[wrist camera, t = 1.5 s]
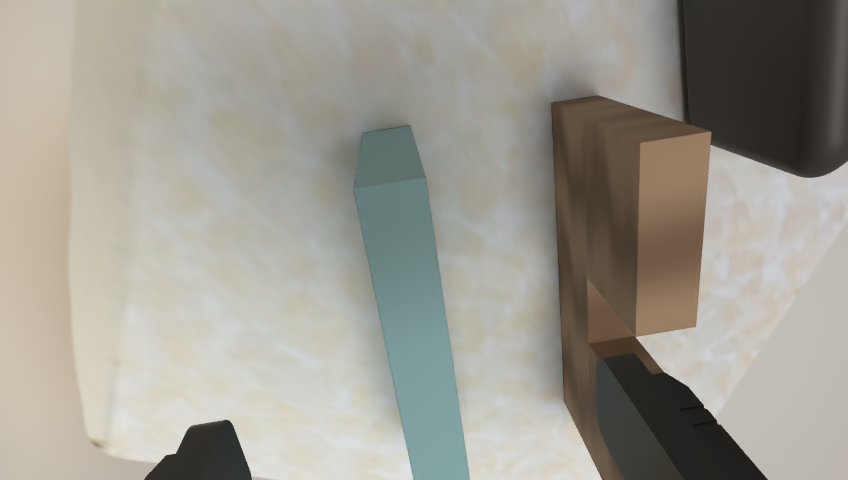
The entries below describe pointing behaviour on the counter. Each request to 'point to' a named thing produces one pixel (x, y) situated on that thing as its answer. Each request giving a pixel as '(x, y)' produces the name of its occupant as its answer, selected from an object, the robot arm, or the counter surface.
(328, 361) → the counter surface
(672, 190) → the brown flat u-shaped block
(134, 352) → the counter surface
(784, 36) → the black rounded block
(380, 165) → the teal plate
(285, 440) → the counter surface
